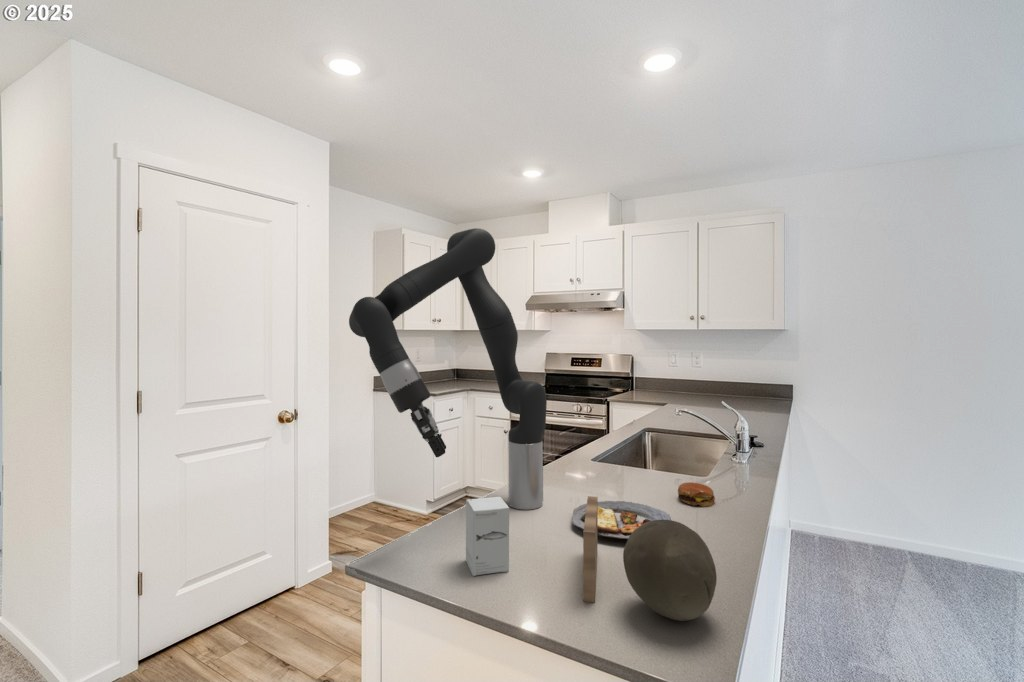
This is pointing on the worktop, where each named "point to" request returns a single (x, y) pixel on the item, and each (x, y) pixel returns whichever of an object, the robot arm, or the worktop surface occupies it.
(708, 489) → the burger
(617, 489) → the worktop surface
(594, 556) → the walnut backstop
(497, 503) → the supplement box
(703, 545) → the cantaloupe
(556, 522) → the worktop surface
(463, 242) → the robot arm
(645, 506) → the food plate
